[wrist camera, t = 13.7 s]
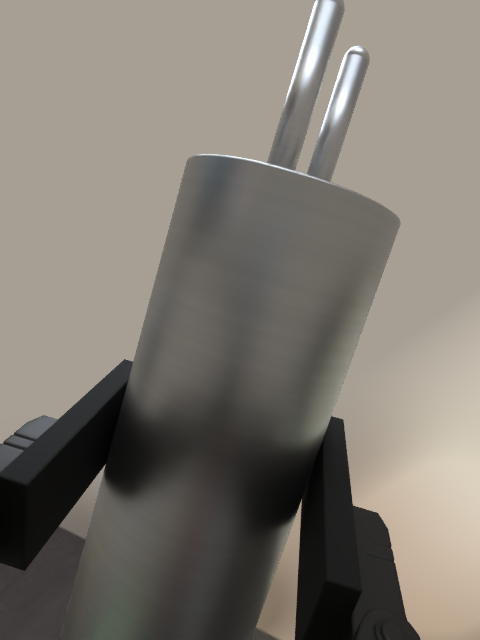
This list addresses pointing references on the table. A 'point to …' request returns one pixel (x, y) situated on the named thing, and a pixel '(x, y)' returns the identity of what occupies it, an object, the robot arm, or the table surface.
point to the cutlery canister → (234, 375)
